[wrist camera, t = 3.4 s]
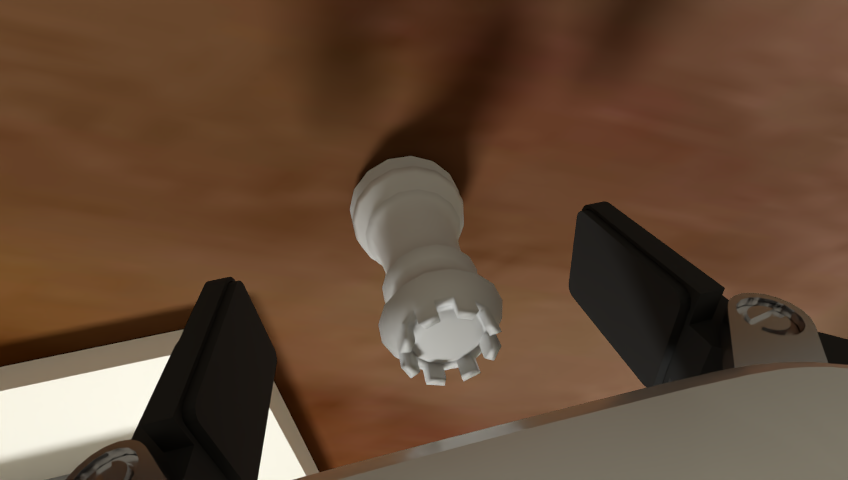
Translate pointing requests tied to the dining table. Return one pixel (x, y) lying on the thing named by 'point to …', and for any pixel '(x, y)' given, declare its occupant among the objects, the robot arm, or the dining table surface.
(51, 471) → the socket board
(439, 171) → the rook chess piece
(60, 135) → the dining table surface
